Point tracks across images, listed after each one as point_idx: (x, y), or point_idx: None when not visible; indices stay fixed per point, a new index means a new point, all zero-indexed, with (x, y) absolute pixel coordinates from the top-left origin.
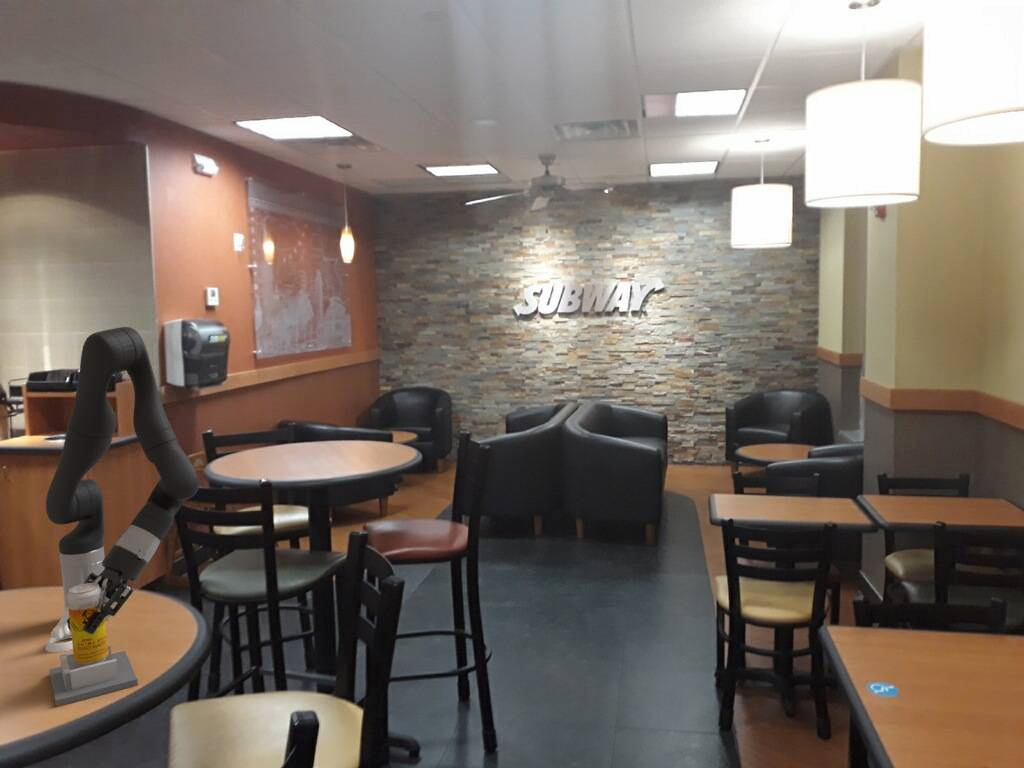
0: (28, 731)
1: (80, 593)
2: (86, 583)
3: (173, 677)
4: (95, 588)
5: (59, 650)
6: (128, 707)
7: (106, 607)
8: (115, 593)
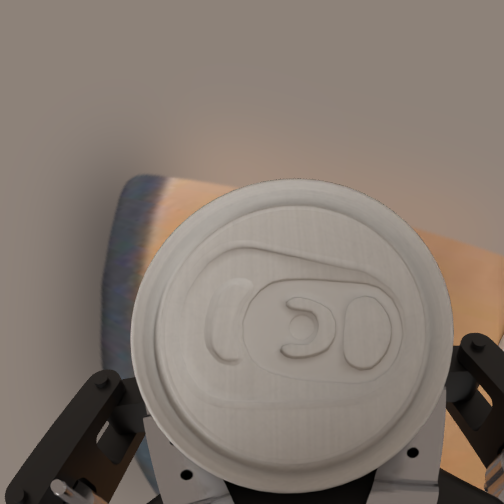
0: (174, 202)
1: (167, 244)
2: (435, 397)
3: (147, 468)
4: (146, 400)
5: (500, 345)
6: (103, 346)
7: (88, 383)
8: (50, 456)
